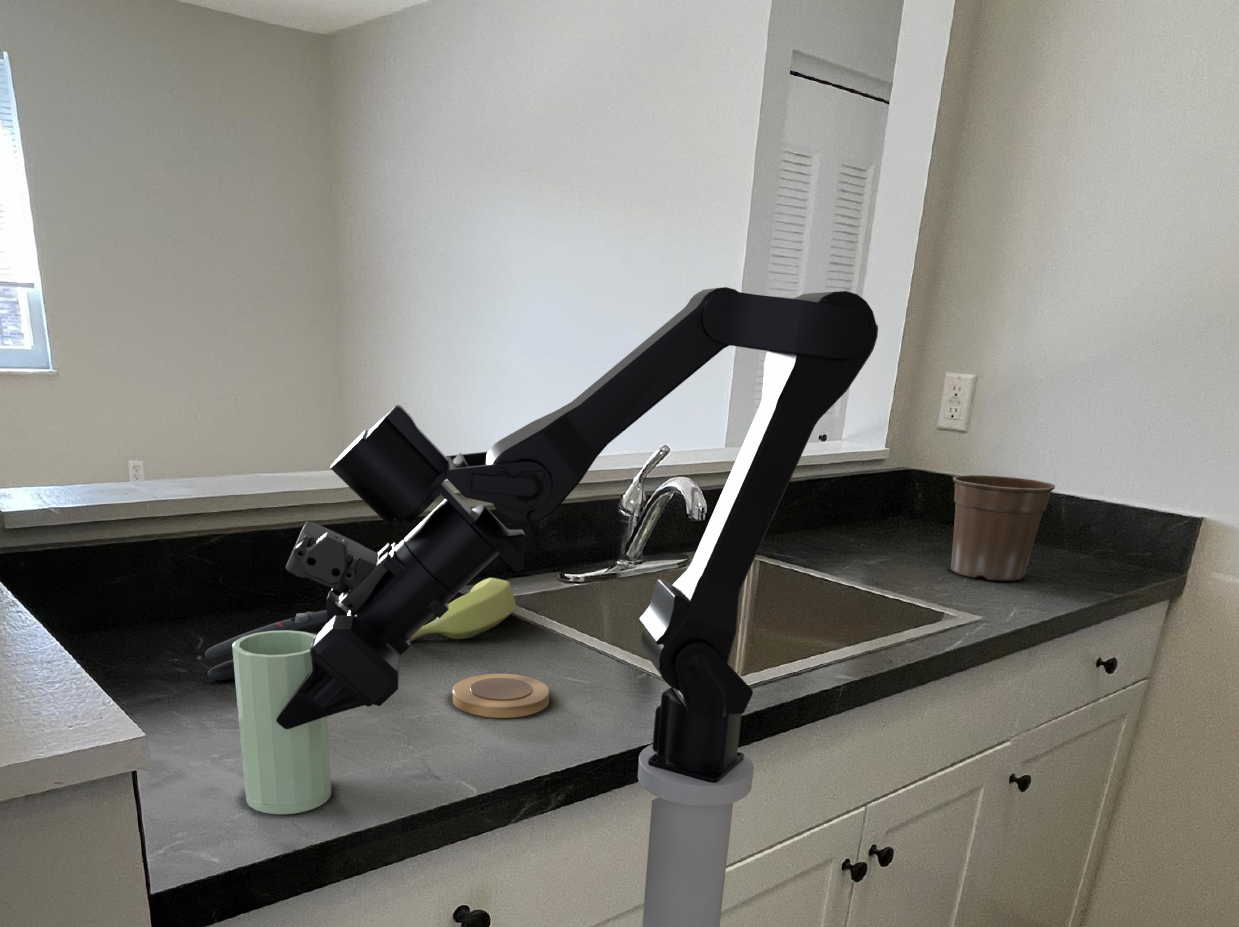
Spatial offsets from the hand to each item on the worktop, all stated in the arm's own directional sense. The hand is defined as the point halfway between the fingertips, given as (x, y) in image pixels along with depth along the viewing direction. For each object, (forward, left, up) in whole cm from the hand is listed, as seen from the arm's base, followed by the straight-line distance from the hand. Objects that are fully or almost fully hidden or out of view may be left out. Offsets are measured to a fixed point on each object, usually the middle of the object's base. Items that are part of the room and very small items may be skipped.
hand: (288, 702), depth 76 cm
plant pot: (-32, -130, -8) cm, 134 cm away
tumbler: (0, 0, -8) cm, 8 cm away
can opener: (+24, -22, -8) cm, 34 cm away
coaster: (-1, -28, -8) cm, 29 cm away
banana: (+19, -47, -8) cm, 51 cm away
